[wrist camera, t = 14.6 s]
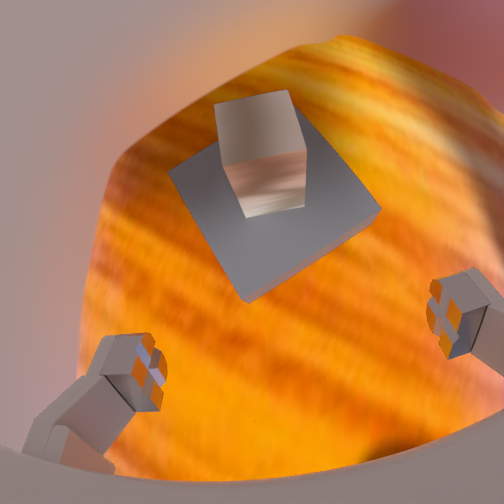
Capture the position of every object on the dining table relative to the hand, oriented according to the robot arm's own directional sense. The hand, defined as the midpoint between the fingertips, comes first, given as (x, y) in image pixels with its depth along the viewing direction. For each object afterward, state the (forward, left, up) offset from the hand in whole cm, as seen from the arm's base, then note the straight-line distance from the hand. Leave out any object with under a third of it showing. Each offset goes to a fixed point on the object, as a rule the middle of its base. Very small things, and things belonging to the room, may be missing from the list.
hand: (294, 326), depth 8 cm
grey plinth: (-5, -11, -20) cm, 23 cm away
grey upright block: (-5, -11, -16) cm, 20 cm away
